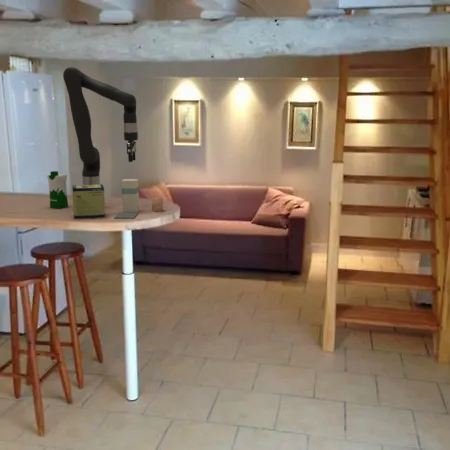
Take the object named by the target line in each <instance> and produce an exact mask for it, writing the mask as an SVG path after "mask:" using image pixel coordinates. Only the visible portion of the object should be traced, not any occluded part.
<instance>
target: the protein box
mask: <svg viewBox="0 0 450 450" xmlns="http://www.w3.org/2000/svg"><path fill="white" fill-rule="evenodd" d="M105 204H106V203H105V187H104V185H103V184H101V183H100V184H99V185H83V184H79V185H78V184H77V185H75V184H73V185H72V209H73V211H72V213H73V219H74V220H75V219H77V220H78V219H96V218H100V219H101V218H106V210H105Z"/></svg>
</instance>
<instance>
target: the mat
mask: <svg viewBox="0 0 450 450" xmlns="http://www.w3.org/2000/svg"><path fill="white" fill-rule="evenodd" d="M139 212H140V211H138V212H123V211H119V212H118V213H117V214H116V215H115V216H114V217H113V220H117V219H120V220H123V219H124V220H129V219H130V220H134V219H135V218H137V216H138V215H139Z"/></svg>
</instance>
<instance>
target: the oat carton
mask: <svg viewBox="0 0 450 450" xmlns="http://www.w3.org/2000/svg"><path fill="white" fill-rule="evenodd" d="M139 188H140V187H139V178H124V179H122V180H121V203H122V205H121V207H122V212H140V194H139V192H140V191H139V190H140V189H139Z"/></svg>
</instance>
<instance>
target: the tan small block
mask: <svg viewBox="0 0 450 450" xmlns="http://www.w3.org/2000/svg"><path fill="white" fill-rule="evenodd" d="M151 211H152V212H154V213H161V212H164V197H160V196H155V197H151Z"/></svg>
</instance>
